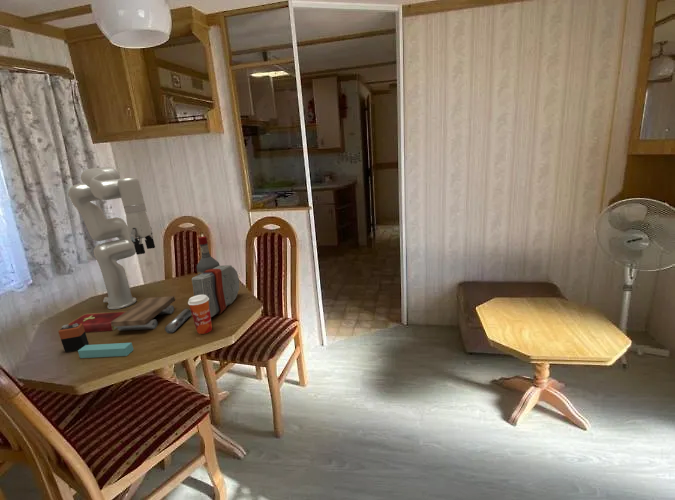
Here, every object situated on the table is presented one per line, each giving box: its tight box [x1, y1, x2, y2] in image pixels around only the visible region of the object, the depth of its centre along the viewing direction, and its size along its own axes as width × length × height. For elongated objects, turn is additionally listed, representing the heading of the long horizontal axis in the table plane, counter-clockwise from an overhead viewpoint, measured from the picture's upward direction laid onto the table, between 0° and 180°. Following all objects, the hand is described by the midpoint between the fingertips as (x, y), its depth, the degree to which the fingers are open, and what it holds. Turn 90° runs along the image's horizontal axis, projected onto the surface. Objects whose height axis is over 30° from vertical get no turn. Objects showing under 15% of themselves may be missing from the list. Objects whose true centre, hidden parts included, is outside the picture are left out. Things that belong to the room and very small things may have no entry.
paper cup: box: [187, 295, 213, 335], centre depth 142 cm, size 8×8×14 cm
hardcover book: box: [67, 310, 127, 333], centre depth 158 cm, size 12×21×4 cm, turn 87°
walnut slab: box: [111, 295, 176, 327], centre depth 157 cm, size 14×24×2 cm, turn 176°
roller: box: [164, 308, 192, 334], centre depth 151 cm, size 15×4×4 cm, turn 176°
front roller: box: [116, 318, 158, 332], centre depth 151 cm, size 15×4×4 cm, turn 86°
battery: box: [57, 323, 90, 353], centre depth 138 cm, size 4×7×10 cm, turn 103°
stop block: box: [77, 342, 134, 359], centre depth 132 cm, size 18×4×3 cm, turn 86°
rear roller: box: [158, 304, 175, 315], centre depth 164 cm, size 15×4×4 cm, turn 86°
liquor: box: [196, 236, 221, 276], centre depth 175 cm, size 9×9×30 cm
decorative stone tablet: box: [191, 265, 240, 318], centre depth 162 cm, size 19×6×30 cm
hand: (146, 251), depth 149 cm, fingers open, 9 cm apart
